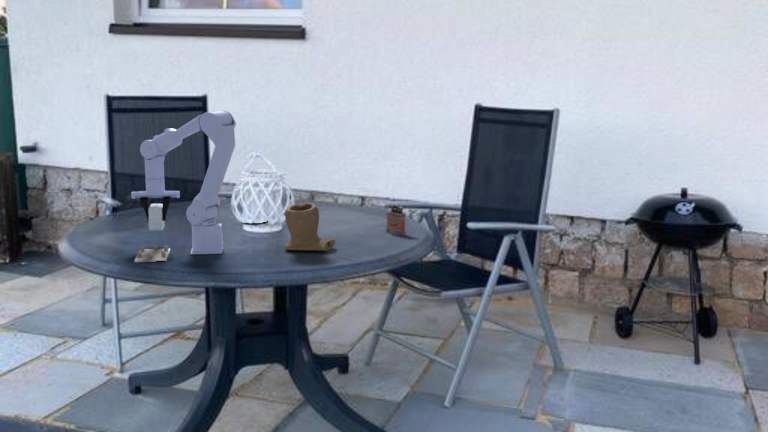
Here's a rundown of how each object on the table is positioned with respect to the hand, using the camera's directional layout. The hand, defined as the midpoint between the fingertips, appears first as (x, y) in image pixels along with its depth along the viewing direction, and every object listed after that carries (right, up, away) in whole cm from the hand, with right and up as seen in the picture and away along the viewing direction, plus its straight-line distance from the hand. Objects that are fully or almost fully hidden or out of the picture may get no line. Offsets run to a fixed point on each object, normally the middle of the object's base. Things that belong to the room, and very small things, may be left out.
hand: (156, 220), depth 251 cm
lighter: (+76, -5, +25) cm, 80 cm away
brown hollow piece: (+48, -10, -1) cm, 49 cm away
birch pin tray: (+2, -11, -11) cm, 15 cm away
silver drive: (0, -2, 0) cm, 2 cm away
